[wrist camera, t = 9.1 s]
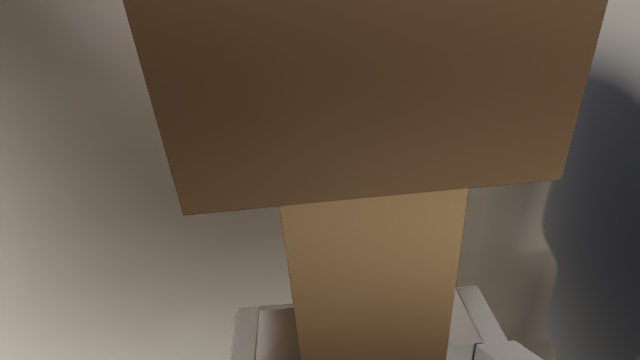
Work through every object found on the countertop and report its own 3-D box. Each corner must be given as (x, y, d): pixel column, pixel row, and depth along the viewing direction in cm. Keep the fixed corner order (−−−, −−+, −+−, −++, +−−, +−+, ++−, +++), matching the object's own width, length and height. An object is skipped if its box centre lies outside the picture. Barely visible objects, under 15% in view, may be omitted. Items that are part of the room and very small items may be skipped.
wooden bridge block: (137, -101, 11) (-182, -168, 3) (487, -127, 11) (893, -242, 4) (267, 444, 24) (259, 673, 16) (427, 427, 24) (489, 645, 17)
